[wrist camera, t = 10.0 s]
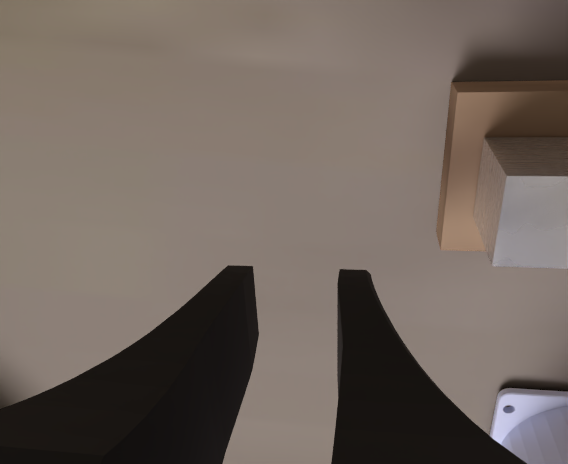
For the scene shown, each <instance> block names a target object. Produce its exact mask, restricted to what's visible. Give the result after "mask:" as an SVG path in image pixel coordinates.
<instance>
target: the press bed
mask: <svg viewBox="0 0 568 464" xmlns="http://www.w3.org/2000/svg"><path fill="white" fill-rule="evenodd" d="M484 137H568V80H553V81H488V82H451V91H450V101H449V110H448V120H447V130H446V140H445V150H444V160H443V170H442V180H441V190H440V199H439V209H438V219H437V229H436V232H437V237H438V241H439V245H440V249H441V250H458V251H486V249H485V246H484V244H483V241H482V239H481V236H480V233H479V231H478V228H477V226H476V223H475V220H474V218H473V214H474V206H475V199H476V192H477V184H478V177H479V170H480V162H481V155H482V148H483V140H484Z"/></svg>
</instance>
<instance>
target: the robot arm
mask: <svg viewBox="0 0 568 464" xmlns="http://www.w3.org/2000/svg"><path fill="white" fill-rule="evenodd" d="M258 336H259V331H258V320H257V308H256V297H255V285H254V274H253V266H229V265H228V266H227V267H226V268H225V269H223V270H222V271H221V272H220V273H219V274H218V275H217V276H216V277H215V278H214V279H212V280H211V281H210V282H209V283H208V284H207V285H206V286H205V287H204V288H203V289H202V290H200V291H199V292H198V293H197V294H196V295H195V296H194V297H193V298H192V299H190V300H189V301H188V302H187V303H186V304H185V305H184V306H182V307H181V308H180V309H179V310H178V311H176V312H175V313H174V314H173V315H171V316H170V317H169V318H168V319H166V320H165V321H164V322H162V323H161V324H160V325H159V326H157V327H156V328H155V329H154V330H152V331H151V332H150V333H148V334H147V335H145V336H144V337H143V338H141V339H140V340H138V341H137V342H135V343H134V344H132V345H131V346H129V347H128V348H126V349H124V350H123V351H121V352H120V353H118V354H117V355H115V356H113V357H112V358H110V359H108V360H106V361H104V362H103V363H101V364H99V365H97V366H95V367H93V368H91V369H90V370H88V371H86V372H84V373H82V374H80V375H79V376H77V377H75V378H73V379H71V380H69V381H67V382H64V383H62V384H60V385H58V386H56V387H54V388H52V389H49V390H47V391H45V392H42V393H40V394H38V395H36V396H33V397H31V398H28V399H26V400H23V401H21V402H19V403H16V404H13V405H11V406H8V407H5V408H2V409H0V464H222V463H223V459H224V456H225V452H226V449H227V446H228V443H229V440H230V437H231V434H232V431H233V428H234V425H235V422H236V419H237V415H238V412H239V409H240V406H241V403H242V400H243V397H244V394H245V391H246V388H247V385H248V382H249V379H250V375H251V372H252V368H253V363H254V358H255V353H256V347H257V341H258ZM338 397H339V398H338V408H337V418H336V428H335V437H334V446H333V455H332V463H331V464H568V392H565V391H550V390H534V389H518V388H506V389H503V390H501V391H500V392H499V393H498V396H497V401H496V406H495V411H494V416H493V421H492V426H491V431H490V436H489V435H488V434H487V433H485V432H484V431H483V430H482V429H481V428H480V427H478V426H477V425H476V424H475V423H474V422H472V421H471V420H470V419H469V418H468V417H467V416H466V415H465V414H464V413H463V412H462V411H461V410H460V409H459V408H458V407H457V406H456V405H455V404H454V403H453V402H452V401H451V400H450V399H449V398H448V397H447V396H446V395H445V394H444V393H443V392H442V391H441V390H440V389H439V388H438V386H437V385H436V384H435V383H434V382H433V381H432V380H431V379H430V377H429V376H428V375H427V374H426V372H425V371H424V370H423V369H422V368H421V366H420V365H419V364H418V362H417V361H416V360H415V358H414V357H413V356H412V354H411V353H410V351H409V350H408V349H407V347H406V346H405V344H404V343H403V341H402V340H401V338H400V337H399V335H398V333H397V332H396V330H395V328H394V327H393V325H392V323H391V321H390V319H389V318H388V316H387V314H386V312H385V310H384V308H383V306H382V304H381V302H380V300H379V298H378V295H377V293H376V291H375V288H374V285H373V282H372V278H371V274H370V273H369V272H368V271H367V270H346V269H340V271H339V278H338ZM507 405H511V406H510V407H505V406H507Z"/></svg>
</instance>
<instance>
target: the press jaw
mask: <svg viewBox="0 0 568 464" xmlns="http://www.w3.org/2000/svg"><path fill="white" fill-rule="evenodd" d="M473 218H474V220H475V223H476V226H477V228H478V231H479V233H480V236H481V239H482V241H483V244H484V246H485V249H486V252H487V254H488V257H489V259H490V262H491V265H492V266H503V267H534V268H565V269H568V137H484V140H483V148H482V155H481V162H480V170H479V177H478V184H477V192H476V199H475V206H474V214H473Z"/></svg>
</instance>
